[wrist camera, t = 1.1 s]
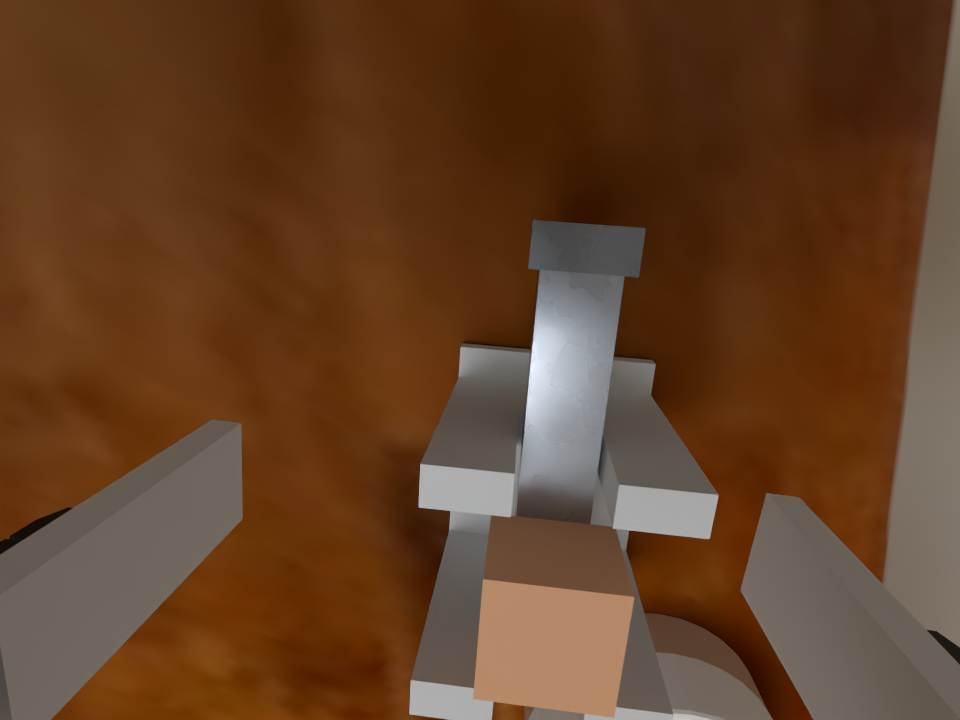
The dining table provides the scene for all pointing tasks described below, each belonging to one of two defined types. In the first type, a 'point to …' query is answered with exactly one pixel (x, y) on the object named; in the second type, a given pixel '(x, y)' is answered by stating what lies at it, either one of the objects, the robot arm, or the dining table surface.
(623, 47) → the dining table surface
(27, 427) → the dining table surface
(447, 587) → the bracket
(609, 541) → the block
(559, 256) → the shaft
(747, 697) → the bowl
